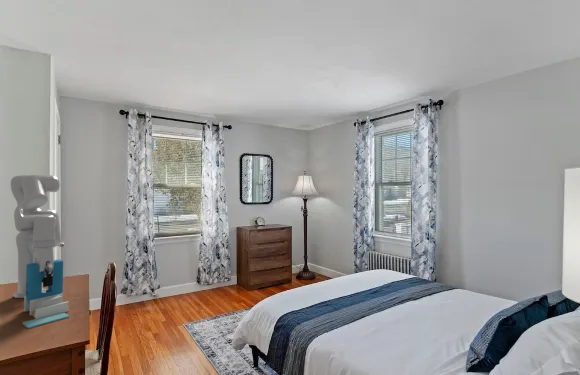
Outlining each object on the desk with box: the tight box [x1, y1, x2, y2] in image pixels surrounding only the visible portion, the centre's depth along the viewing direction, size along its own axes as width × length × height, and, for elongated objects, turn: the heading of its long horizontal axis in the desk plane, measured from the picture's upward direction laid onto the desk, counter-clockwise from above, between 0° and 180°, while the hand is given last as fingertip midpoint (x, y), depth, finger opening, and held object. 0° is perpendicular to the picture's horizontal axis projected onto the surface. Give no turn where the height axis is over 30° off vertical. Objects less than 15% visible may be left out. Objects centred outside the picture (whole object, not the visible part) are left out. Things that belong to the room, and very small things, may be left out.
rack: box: [23, 292, 70, 319], centre depth 131 cm, size 16×11×6 cm
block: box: [26, 259, 64, 307], centre depth 133 cm, size 12×5×20 cm, turn 143°
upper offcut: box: [36, 295, 64, 309], centre depth 129 cm, size 4×8×3 cm, turn 156°
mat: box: [22, 312, 70, 329], centre depth 121 cm, size 7×13×1 cm, turn 143°
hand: (43, 284), depth 133 cm, fingers open, 9 cm apart
